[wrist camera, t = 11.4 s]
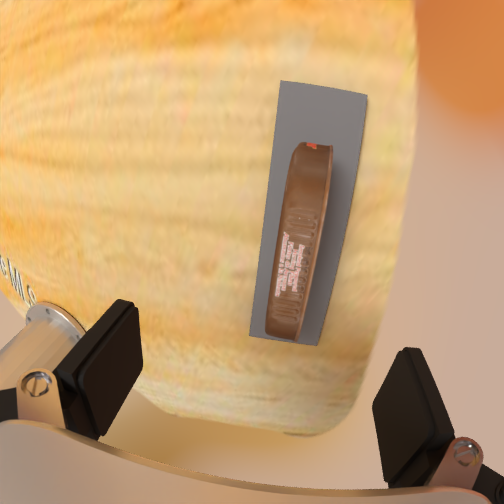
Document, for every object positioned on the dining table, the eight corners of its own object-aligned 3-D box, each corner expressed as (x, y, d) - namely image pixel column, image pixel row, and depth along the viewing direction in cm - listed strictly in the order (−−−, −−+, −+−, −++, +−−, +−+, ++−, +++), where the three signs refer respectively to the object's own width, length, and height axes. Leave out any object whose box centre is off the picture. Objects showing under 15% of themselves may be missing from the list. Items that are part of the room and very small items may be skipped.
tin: (301, 306, 30) (300, 366, 22) (268, 301, 30) (257, 360, 22) (331, 143, 24) (347, 150, 16) (292, 136, 24) (290, 141, 16)
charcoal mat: (316, 339, 32) (316, 345, 31) (250, 330, 33) (249, 335, 32) (364, 96, 23) (367, 94, 22) (281, 82, 23) (280, 80, 23)
